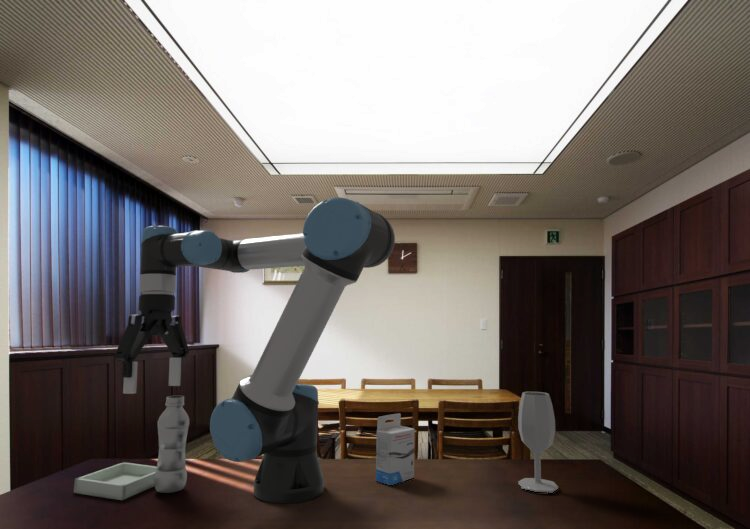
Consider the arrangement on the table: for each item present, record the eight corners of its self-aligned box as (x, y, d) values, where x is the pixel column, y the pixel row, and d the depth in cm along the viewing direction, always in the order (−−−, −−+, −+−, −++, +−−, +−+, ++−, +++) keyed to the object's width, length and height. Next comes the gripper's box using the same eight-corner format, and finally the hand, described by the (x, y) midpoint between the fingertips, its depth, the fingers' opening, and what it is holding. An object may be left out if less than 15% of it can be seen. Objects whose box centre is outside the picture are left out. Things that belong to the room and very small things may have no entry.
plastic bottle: (174, 498, 99) (180, 399, 102) (146, 495, 101) (152, 398, 103) (192, 487, 106) (197, 395, 108) (165, 485, 107) (170, 393, 109)
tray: (167, 480, 110) (167, 467, 110) (121, 500, 98) (122, 486, 98) (122, 474, 114) (123, 462, 114) (73, 492, 102) (74, 478, 102)
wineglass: (516, 491, 106) (514, 394, 108) (520, 479, 114) (518, 389, 116) (558, 497, 103) (555, 397, 105) (559, 484, 111) (556, 392, 113)
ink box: (390, 487, 108) (390, 420, 109) (374, 481, 111) (375, 416, 113) (415, 479, 114) (415, 415, 115) (399, 474, 117) (400, 412, 119)
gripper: (180, 297, 122) (177, 382, 119) (98, 291, 98) (92, 396, 95) (205, 296, 120) (203, 383, 117) (128, 289, 96) (122, 397, 93)
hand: (153, 389), depth 106 cm, fingers open, 13 cm apart
